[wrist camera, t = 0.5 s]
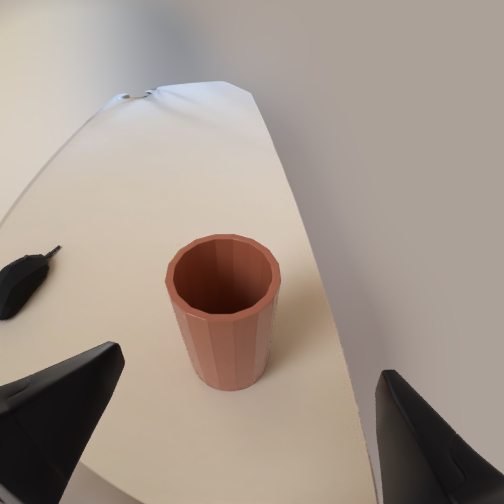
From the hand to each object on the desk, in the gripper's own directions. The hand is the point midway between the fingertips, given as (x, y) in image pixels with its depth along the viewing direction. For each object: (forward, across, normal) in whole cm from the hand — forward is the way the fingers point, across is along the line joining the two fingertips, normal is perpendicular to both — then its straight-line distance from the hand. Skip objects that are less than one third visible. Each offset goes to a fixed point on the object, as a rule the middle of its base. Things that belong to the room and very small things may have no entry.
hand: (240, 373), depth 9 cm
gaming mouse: (+15, +33, +8) cm, 37 cm away
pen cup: (+14, +4, +12) cm, 19 cm away
